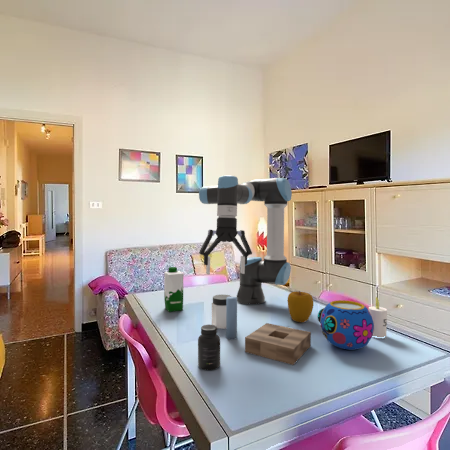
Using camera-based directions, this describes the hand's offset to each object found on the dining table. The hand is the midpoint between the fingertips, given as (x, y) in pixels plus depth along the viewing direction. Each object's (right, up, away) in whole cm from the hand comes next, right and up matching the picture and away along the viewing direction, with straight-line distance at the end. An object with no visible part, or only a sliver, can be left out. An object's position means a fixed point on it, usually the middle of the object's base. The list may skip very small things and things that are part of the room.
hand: (225, 273), depth 120 cm
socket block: (+18, -24, -10) cm, 32 cm away
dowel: (+2, -24, 0) cm, 24 cm away
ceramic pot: (+42, -25, -8) cm, 50 cm away
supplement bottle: (-5, -25, -23) cm, 34 cm away
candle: (+58, -24, +2) cm, 63 cm away
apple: (+33, -24, +20) cm, 45 cm away
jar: (-1, -24, +13) cm, 27 cm away
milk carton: (-25, -23, +35) cm, 49 cm away
